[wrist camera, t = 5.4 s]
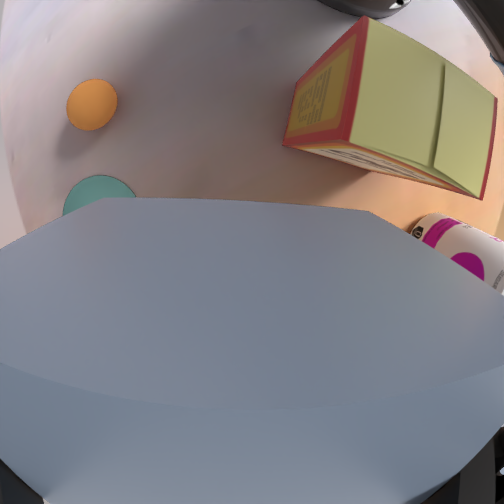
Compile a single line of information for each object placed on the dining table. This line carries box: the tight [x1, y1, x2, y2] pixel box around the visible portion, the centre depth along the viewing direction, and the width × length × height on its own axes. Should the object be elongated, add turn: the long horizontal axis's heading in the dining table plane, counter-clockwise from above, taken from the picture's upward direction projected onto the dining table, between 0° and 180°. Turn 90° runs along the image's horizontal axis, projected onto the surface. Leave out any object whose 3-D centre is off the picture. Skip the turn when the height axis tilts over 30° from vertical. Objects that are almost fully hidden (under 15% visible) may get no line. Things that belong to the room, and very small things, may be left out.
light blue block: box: [0, 198, 504, 504], centre depth 8 cm, size 10×10×9 cm
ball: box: [66, 79, 117, 130], centre depth 21 cm, size 5×5×5 cm
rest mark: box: [63, 175, 136, 216], centre depth 27 cm, size 10×10×1 cm
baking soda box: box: [282, 15, 498, 201], centre depth 17 cm, size 10×6×16 cm
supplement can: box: [410, 212, 504, 296], centre depth 23 cm, size 8×8×15 cm
